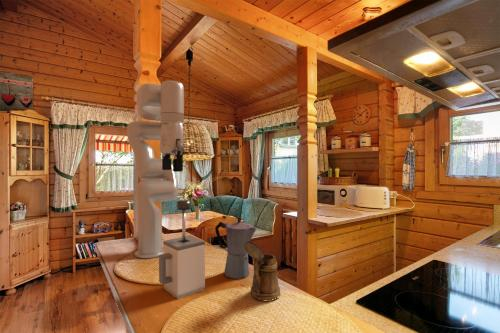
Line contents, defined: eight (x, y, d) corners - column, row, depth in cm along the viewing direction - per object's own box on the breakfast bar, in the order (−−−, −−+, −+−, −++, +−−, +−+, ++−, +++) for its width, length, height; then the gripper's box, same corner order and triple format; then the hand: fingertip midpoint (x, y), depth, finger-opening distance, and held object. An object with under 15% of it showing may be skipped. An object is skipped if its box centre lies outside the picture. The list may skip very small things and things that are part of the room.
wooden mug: (235, 302, 79) (235, 238, 78) (260, 285, 90) (260, 229, 90) (262, 312, 74) (262, 244, 74) (285, 292, 85) (285, 233, 85)
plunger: (170, 251, 87) (170, 200, 87) (187, 247, 91) (187, 199, 91) (179, 256, 83) (179, 202, 83) (197, 251, 87) (197, 200, 87)
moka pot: (254, 281, 92) (254, 221, 92) (210, 278, 95) (209, 219, 95) (259, 270, 102) (259, 215, 101) (218, 267, 105) (218, 214, 104)
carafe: (154, 291, 86) (154, 242, 85) (189, 280, 94) (189, 235, 94) (168, 302, 79) (167, 249, 79) (205, 289, 87) (204, 241, 87)
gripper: (152, 120, 98) (152, 169, 99) (171, 116, 85) (171, 172, 85) (173, 122, 103) (173, 169, 104) (194, 118, 89) (193, 171, 90)
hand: (172, 170), depth 94 cm, fingers open, 9 cm apart
